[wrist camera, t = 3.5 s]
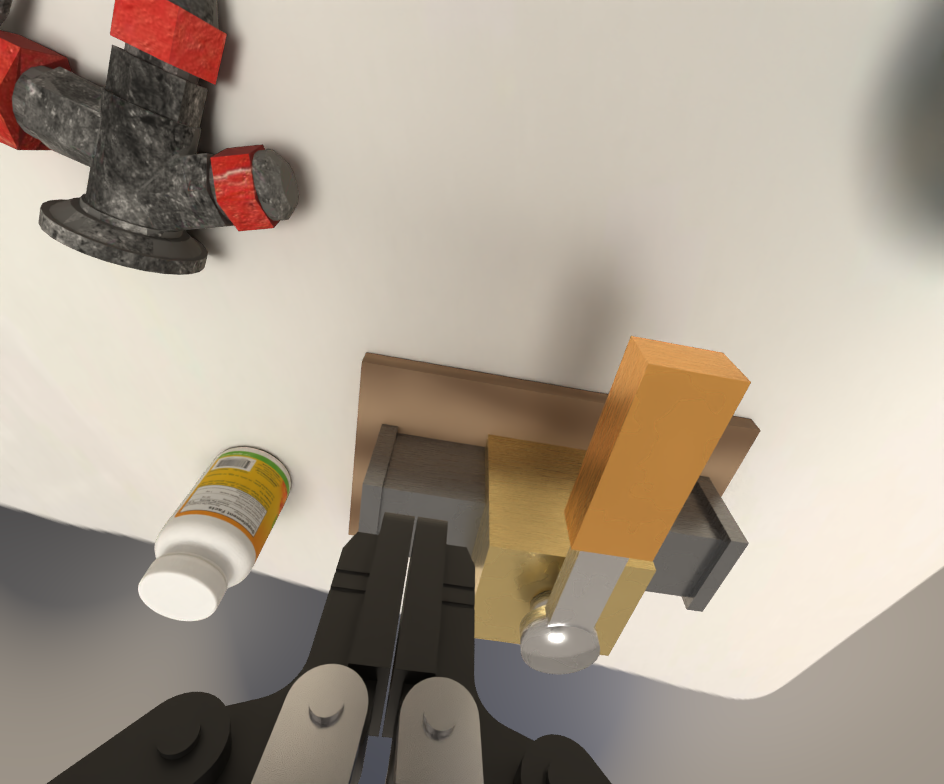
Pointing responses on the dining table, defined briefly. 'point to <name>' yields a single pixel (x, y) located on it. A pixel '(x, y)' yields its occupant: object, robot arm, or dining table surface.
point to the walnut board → (493, 415)
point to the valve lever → (631, 487)
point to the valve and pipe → (536, 526)
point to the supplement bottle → (215, 534)
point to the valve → (140, 140)
